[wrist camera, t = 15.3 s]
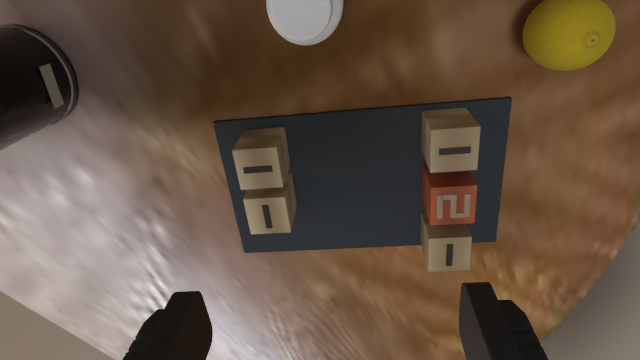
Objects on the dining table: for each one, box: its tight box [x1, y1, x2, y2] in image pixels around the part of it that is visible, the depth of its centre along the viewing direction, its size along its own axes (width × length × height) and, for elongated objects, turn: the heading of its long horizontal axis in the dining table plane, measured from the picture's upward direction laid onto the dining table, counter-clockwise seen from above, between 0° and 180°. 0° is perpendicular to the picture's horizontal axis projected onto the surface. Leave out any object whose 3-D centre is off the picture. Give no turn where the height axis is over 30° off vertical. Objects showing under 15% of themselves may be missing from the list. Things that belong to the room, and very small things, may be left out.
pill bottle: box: [266, 0, 345, 45], centre depth 30 cm, size 5×5×10 cm
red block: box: [422, 164, 477, 225], centre depth 39 cm, size 4×4×5 cm
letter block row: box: [420, 108, 481, 271], centre depth 39 cm, size 4×15×5 cm, turn 6°
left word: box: [232, 127, 297, 234], centre depth 39 cm, size 4×9×5 cm, turn 6°
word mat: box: [213, 97, 512, 253], centre depth 42 cm, size 28×16×1 cm, turn 96°
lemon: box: [522, 0, 616, 71], centre depth 31 cm, size 6×6×8 cm
